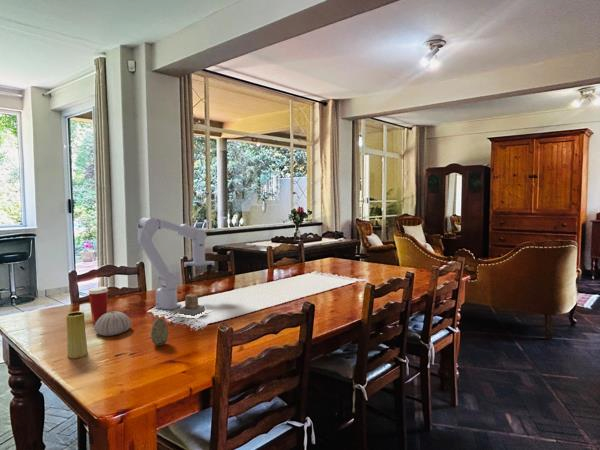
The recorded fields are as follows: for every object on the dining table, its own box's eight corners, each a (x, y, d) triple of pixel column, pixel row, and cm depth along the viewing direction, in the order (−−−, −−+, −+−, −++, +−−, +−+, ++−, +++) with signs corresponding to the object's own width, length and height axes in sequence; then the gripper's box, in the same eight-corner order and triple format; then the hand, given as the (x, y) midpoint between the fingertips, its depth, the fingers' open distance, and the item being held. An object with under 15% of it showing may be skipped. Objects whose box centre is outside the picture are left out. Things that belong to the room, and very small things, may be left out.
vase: (72, 351, 141) (70, 311, 139) (91, 351, 141) (88, 310, 140) (63, 359, 135) (61, 316, 133) (83, 358, 135) (80, 316, 134)
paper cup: (113, 318, 177) (112, 287, 175) (99, 324, 169) (97, 291, 168) (99, 317, 179) (97, 285, 178) (85, 322, 172) (83, 289, 171)
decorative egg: (152, 349, 142) (150, 321, 141) (150, 343, 148) (149, 316, 147) (169, 346, 144) (168, 319, 144) (168, 340, 150) (166, 314, 149)
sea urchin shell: (96, 340, 151) (95, 319, 151) (92, 330, 163) (91, 310, 162) (134, 333, 158) (133, 313, 158) (128, 324, 170) (127, 305, 169)
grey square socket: (169, 317, 179) (169, 310, 179) (188, 309, 193) (188, 301, 192) (196, 321, 175) (196, 313, 174) (214, 311, 188) (214, 304, 187)
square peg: (185, 313, 182) (184, 296, 181) (190, 311, 186) (190, 293, 185) (193, 314, 181) (192, 296, 180) (198, 311, 185) (197, 294, 184)
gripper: (183, 255, 197) (184, 282, 198) (213, 253, 199) (214, 281, 201) (184, 252, 204) (185, 279, 205) (214, 251, 206) (214, 278, 207)
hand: (199, 280), depth 203 cm, fingers open, 7 cm apart
